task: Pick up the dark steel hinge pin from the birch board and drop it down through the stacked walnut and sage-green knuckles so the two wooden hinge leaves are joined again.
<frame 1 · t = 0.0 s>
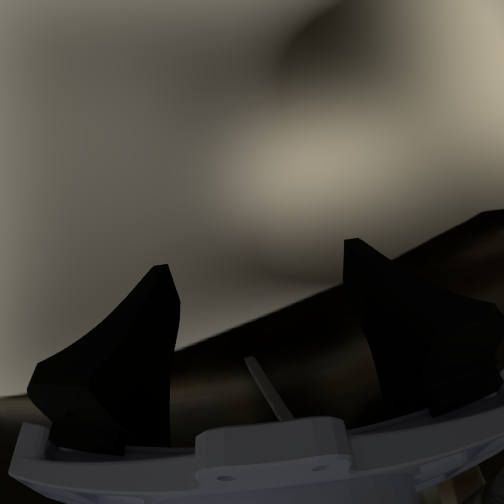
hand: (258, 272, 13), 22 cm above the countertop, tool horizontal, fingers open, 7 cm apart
hinge base: (391, 499, 19), on the countertop
caliper: (283, 425, 28), on the countertop, touching hinge base
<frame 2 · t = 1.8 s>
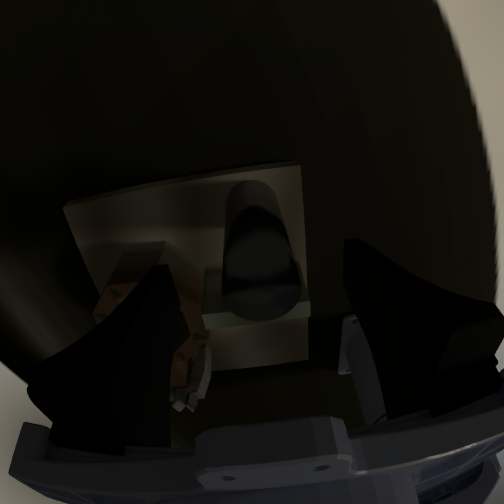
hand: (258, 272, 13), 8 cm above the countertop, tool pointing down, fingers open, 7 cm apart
hinge base: (200, 289, 23), on the countertop
caliper: (115, 365, 27), on the countertop, touching hinge base
steel pin: (251, 204, 19), point 1 cm above the countertop, touching hinge base
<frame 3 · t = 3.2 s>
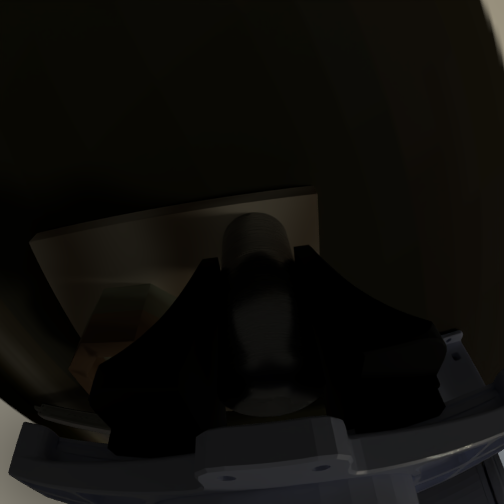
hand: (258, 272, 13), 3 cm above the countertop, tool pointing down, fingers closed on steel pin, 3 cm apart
hinge base: (195, 332, 19), on the countertop
caliper: (104, 398, 24), on the countertop, touching hinge base
steel pin: (255, 241, 15), point 1 cm above the countertop, touching gripper, hinge base
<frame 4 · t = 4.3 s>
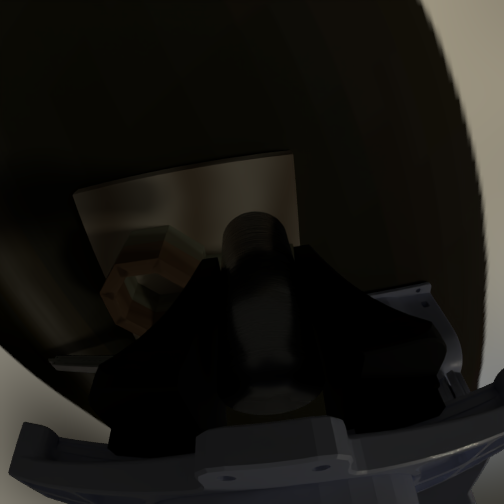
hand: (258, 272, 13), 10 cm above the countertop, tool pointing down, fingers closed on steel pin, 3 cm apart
hinge base: (201, 272, 25), on the countertop
caliper: (117, 344, 29), on the countertop, touching hinge base
steel pin: (254, 240, 15), point 7 cm above the countertop, touching gripper
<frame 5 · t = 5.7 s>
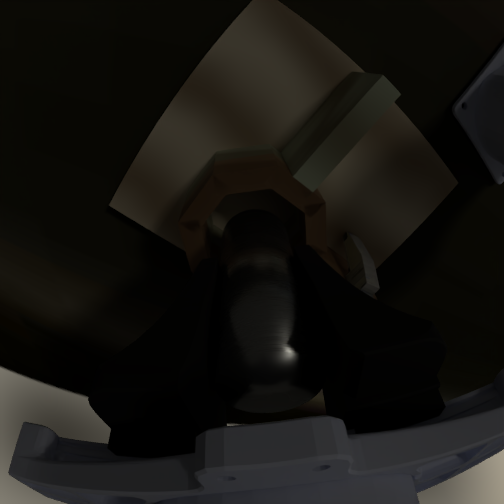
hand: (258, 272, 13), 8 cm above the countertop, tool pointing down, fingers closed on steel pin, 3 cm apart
hinge base: (295, 180, 19), on the countertop
caliper: (273, 329, 25), on the countertop, touching hinge base
steel pin: (254, 238, 15), point 5 cm above the countertop, touching gripper
when the fingers open (6 cm above the countertop, at t = 7.1 s): steel pin drops 2 cm, resting on hinge base.
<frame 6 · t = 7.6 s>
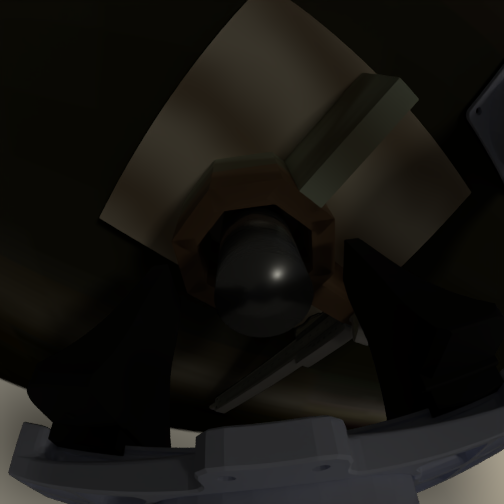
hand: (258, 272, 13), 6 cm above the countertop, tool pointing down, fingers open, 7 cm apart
hinge base: (300, 190, 18), on the countertop
caliper: (270, 343, 24), on the countertop, touching hinge base
steel pin: (252, 215, 17), point 1 cm above the countertop, tilted 8°, touching hinge base
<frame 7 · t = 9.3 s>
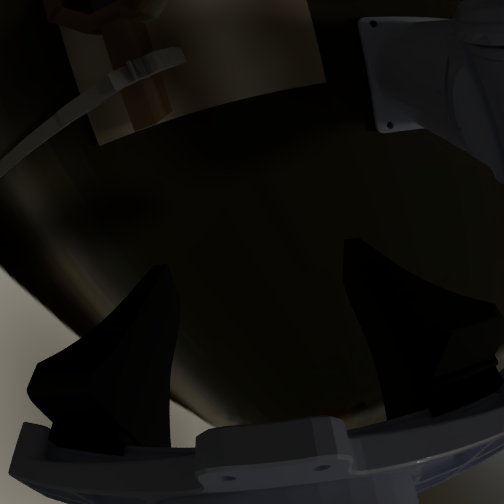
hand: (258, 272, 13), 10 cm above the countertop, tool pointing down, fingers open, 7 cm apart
caliper: (59, 124, 18), on the countertop, touching hinge base
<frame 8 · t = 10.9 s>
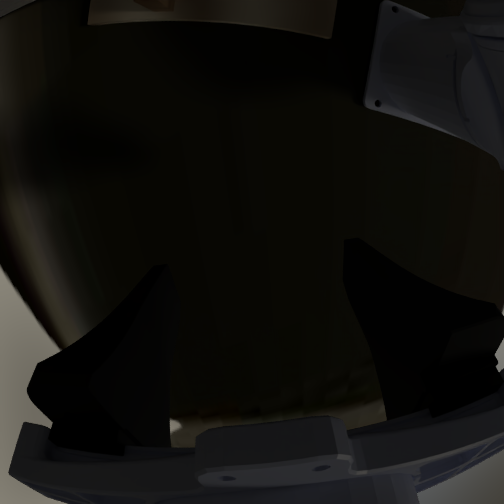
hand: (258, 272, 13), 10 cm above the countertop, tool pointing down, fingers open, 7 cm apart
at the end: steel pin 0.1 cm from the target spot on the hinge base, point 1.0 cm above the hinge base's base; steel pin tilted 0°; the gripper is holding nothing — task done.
